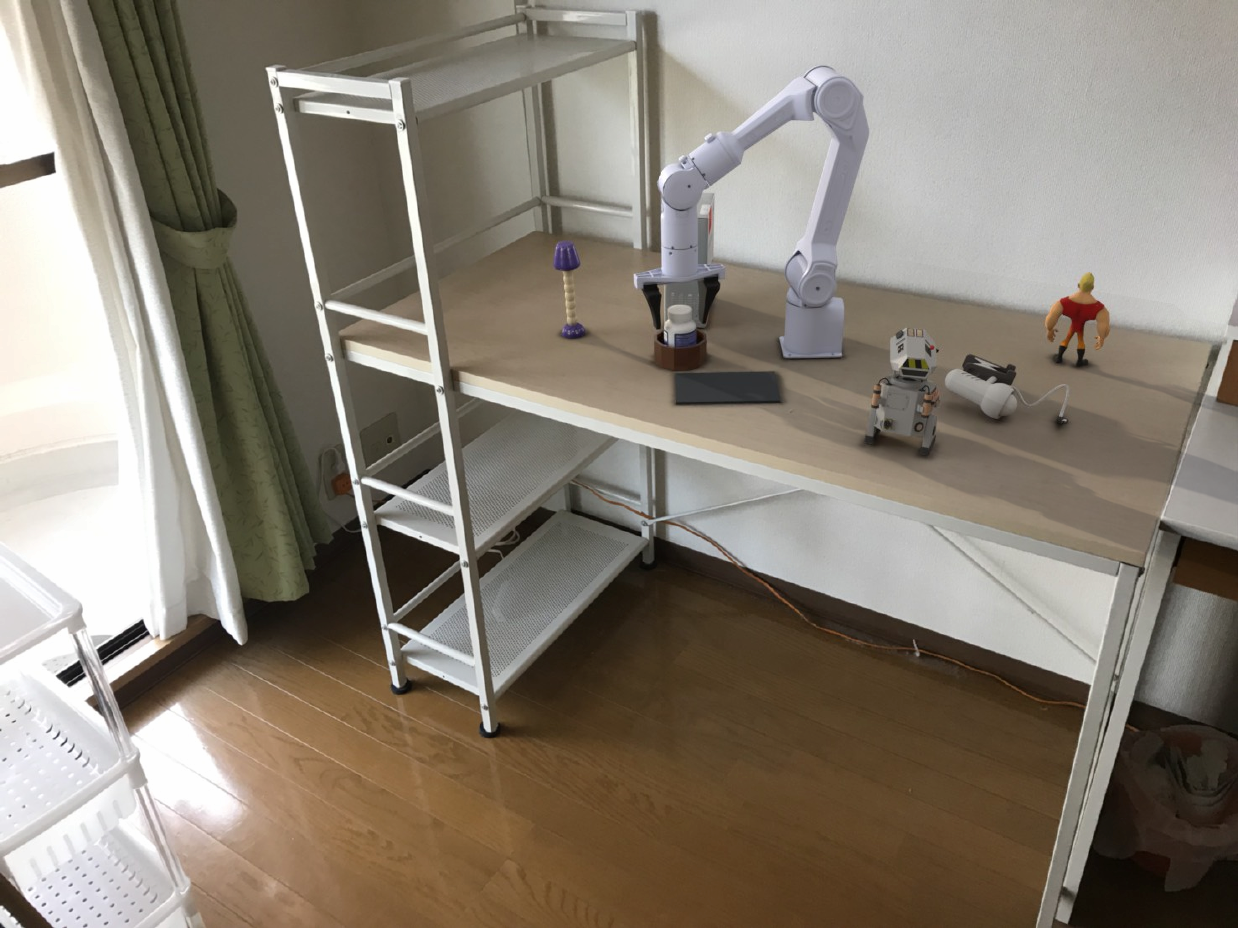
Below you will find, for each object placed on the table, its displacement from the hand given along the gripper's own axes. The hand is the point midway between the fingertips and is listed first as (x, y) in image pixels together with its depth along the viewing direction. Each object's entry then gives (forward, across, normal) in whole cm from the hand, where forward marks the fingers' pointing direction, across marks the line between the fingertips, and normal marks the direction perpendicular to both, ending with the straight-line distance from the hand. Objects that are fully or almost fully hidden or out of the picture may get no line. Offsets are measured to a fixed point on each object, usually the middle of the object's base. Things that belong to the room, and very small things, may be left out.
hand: (679, 324), depth 162 cm
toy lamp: (+6, +16, -16) cm, 23 cm away
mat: (+6, -4, +12) cm, 14 cm away
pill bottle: (+6, 0, 0) cm, 6 cm away
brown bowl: (+6, 0, 0) cm, 6 cm away
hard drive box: (+6, -7, -19) cm, 21 cm away
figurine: (+6, -23, +34) cm, 42 cm away
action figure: (+6, -59, +20) cm, 62 cm away
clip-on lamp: (+6, -42, +31) cm, 52 cm away
